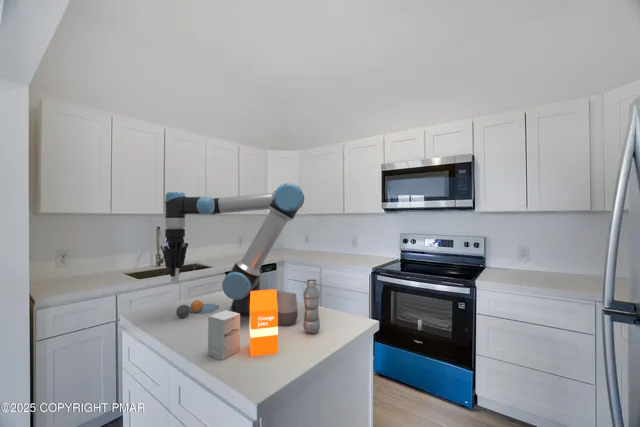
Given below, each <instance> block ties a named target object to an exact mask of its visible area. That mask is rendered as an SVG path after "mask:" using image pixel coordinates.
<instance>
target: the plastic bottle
mask: <svg viewBox="0 0 640 427" xmlns="http://www.w3.org/2000/svg"><path fill="white" fill-rule="evenodd" d="M306 286H307V287H306V288H305V289H304V290H303V295H302V296H303V302H304V319H303V324H302V325H303V330H304V332H305V333H307V334H316V333H318V332H319V330H320V327H321V326H320V325H321V323H320V318H319V317H320V316H319V303H320V291H319V289H318V288H317V280H316V279H307V280H306Z"/></svg>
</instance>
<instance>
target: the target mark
mask: <svg viewBox="0 0 640 427" xmlns="http://www.w3.org/2000/svg"><path fill="white" fill-rule="evenodd" d="M217 310H220V305H218V304H216V303H203V308H202V310H201V311H199V312H192V311H191V309H190V313H189V314H195V315H196V314H197V315H199V314H208V313H212V312H215V311H217Z"/></svg>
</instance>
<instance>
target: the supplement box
mask: <svg viewBox="0 0 640 427" xmlns="http://www.w3.org/2000/svg"><path fill="white" fill-rule="evenodd" d="M207 317H208V319H207V320H208V322H207V323H208V325H207V354H208V355H209V356H210V357H213V358H216V359H219V360H221V361H224V360H225V359H226V358H228V357H231V356H232V355H234V354H236V353H238V352H240V350H241V349H240V348H241V316H240V314H239V313H236V312H231V310H226V309H225V310H223V311H220V312H218V313H214V314H211V315H209V316H207Z"/></svg>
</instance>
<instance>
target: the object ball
mask: <svg viewBox="0 0 640 427" xmlns="http://www.w3.org/2000/svg"><path fill="white" fill-rule="evenodd" d="M203 304H204V303H203V302H202V301H201V300H198V299H197V300H193V301H192V302H191V303H190V305H189V308H190V309H191V311H192V312H199V311H201V310H202V308H203Z"/></svg>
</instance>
